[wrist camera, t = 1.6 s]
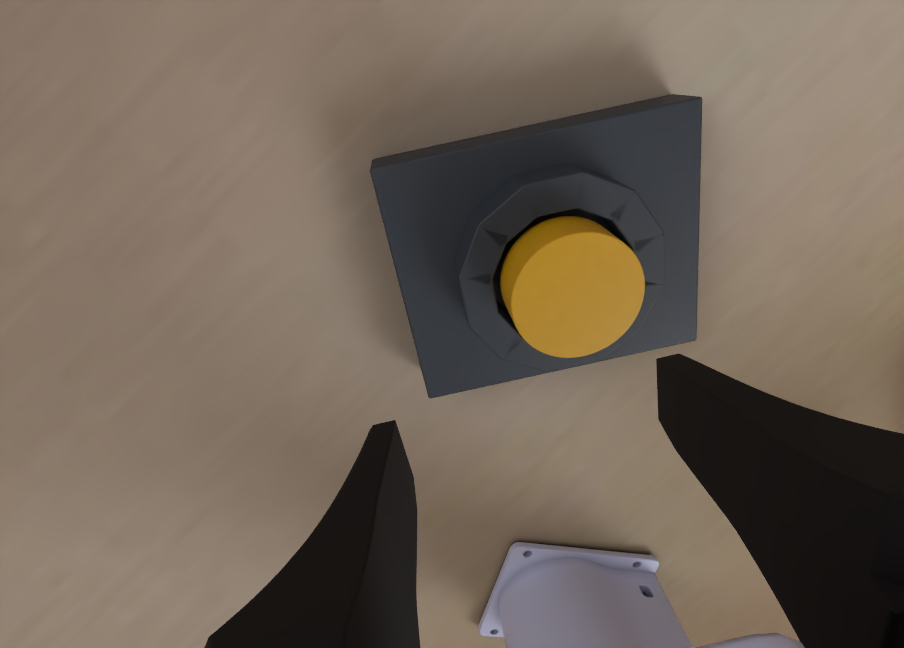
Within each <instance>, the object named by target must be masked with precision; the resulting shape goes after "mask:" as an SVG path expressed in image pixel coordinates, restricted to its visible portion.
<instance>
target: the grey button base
mask: <svg viewBox="0 0 904 648" xmlns="http://www.w3.org/2000/svg"><path fill="white" fill-rule="evenodd" d="M701 127H702V97H696V96H686V95H675V94H671V95H666V96H662V97H657V98H653V99H648V100H643V101H639V102H634V103H630V104H625V105H620V106H616V107H611V108H607V109H602V110H597V111H593V112H588V113H584V114H579V115H574V116H570V117H565V118H561V119H556V120H551V121H547V122H542V123H538V124H533V125H528V126H524V127H519V128H515V129H510V130H505V131H501V132H496V133H492V134H487V135H482V136H478V137H473V138H469V139H464V140H459V141H455V142H450V143H446V144H441V145H436V146H432V147H427V148H423V149H418V150H413V151H409V152H404V153H400V154H395V155H390V156H386V157H381V158H377V159H373V160H372V164H371V169H370V173H371V177H372V181H373V184H374V188H375V192H376V196H377V200H378V204H379V208H380V211H381V215H382V219H383V223H384V227H385V231H386V235H387V238H388V242H389V246H390V250H391V254H392V258H393V262H394V266H395V269H396V273H397V277H398V281H399V285H400V289H401V293H402V296H403V300H404V304H405V308H406V312H407V316H408V320H409V324H410V327H411V331H412V335H413V339H414V343H415V347H416V351H417V354H418V358H419V362H420V366H421V370H422V374H423V378H424V381H425V385H426V389H427V393H428V397H429V398H434V397H439V396H444V395H448V394H453V393H457V392H462V391H466V390H471V389H476V388H480V387H485V386H489V385H494V384H498V383H503V382H508V381H512V380H517V379H521V378H526V377H530V376H535V375H540V374H544V373H549V372H553V371H558V370H562V369H567V368H572V367H576V366H581V365H585V364H590V363H594V362H599V361H604V360H608V359H613V358H617V357H622V356H626V355H631V354H636V353H640V352H645V351H649V350H654V349H658V348H663V347H668V346H672V345H677V344H681V343H686V342H690V341H695V340H696V331H697V290H698V249H699V209H700V168H701ZM561 216H577V217H583V218H587V219H590V220H592V221H594V222H596V223H598V224H600V225H601V226H603V227H604V228H605V229H607V230H608V231H609V232H611V233H612V234H613V235H614V236H616V237H617V238H618V239H620V240H621V241H622V242H624V243H625V244H626V245H627V246H628V247H630V249H631V250H632V251H633V252H634V253H635V255H636V256H637V258H638V259H639V261H640V264H641V266H642V269H643V273H644V279H645V293H644V298H643V302H642V305H641V309H640V311H639V313H638V315H637V317H636V319H635V320H634V322H633V323H632V325H631V326H630V327H629V329H628V330H627V331H626V332H625V333H624V334H623V335H622V336H621V337H620V338H619V339H618V340H616V341H615V342H614V343H612V344H611V345H609V346H608V347H606V348H604V349H602V350H600V351H598V352H595V353H593V354H590V355H586V356H582V357H575V358H562V357H555V356H551V355H548V354H545V353H542V352H540V351H538V350H536V349H535V348H533V347H532V346H530V345H529V344H528V343H527V342H526V341H525V340H524V339H523V338H522V336H521V335H520V334H519V332H518V330H517V329H516V327H515V324H514V322H513V320H512V318H511V316H510V314H509V312H508V309H507V307H506V305H505V303H504V300H503V298H502V293H501V287H500V276H501V270H502V266H503V263H504V260H505V258H506V256H507V254H508V252H509V250H510V249H511V247H512V246H513V244H514V243H515V242H516V241H517V239H518V238H519V237H520V236H521V235H523V234H524V233H525V232H526V231H527V230H529V229H530V228H531V227H533V226H535V225H537V224H538V223H541V222H543V221H545V220H548V219H551V218H555V217H561Z"/></svg>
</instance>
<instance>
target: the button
mask: <svg viewBox="0 0 904 648" xmlns="http://www.w3.org/2000/svg"><path fill="white" fill-rule="evenodd" d="M500 287H501V293H502V298H503V300H504V303H505V305H506V307H507V309H508V312H509V314H510V316H511V318H512V320H513V322H514V324H515V327H516V329H517V330H518V332H519V334H520V335H521V336H522V338H523V339H524V340H525V341H526V342H527V343H528V344H529V345H530V346H532V347H533V348H535V349H536V350H538V351H540V352H542V353H545V354H548V355H551V356H555V357H562V358H575V357H582V356H586V355H590V354H593V353H595V352H598V351H600V350H602V349H604V348H606V347H608V346H609V345H611V344H612V343H614V342H615V341H616V340H618V339H619V338H620V337H621V336H622V335H623V334H624V333H625V332H626V331H627V330H628V329H629V327H630V326H631V325H632V323H633V322H634V320H635V319H636V317H637V315H638V313H639V311H640V309H641V305H642V302H643V298H644V293H645V279H644V273H643V269H642V266H641V264H640V261H639V259H638V258H637V256H636V255H635V253H634V252H633V251H632V250H631V249H630V247H628V246H627V245H626V244H625V243H624V242H622V241H621V240H620V239H618V238H617V237H616V236H614V235H613V234H612V233H611V232H609V231H608V230H607V229H605V228H604V227H603V226H601V225H600V224H598V223H596V222H594V221H592V220H590V219H587V218H583V217H577V216H561V217H555V218H551V219H548V220H545V221H543V222H541V223H538V224H537V225H535V226H533V227H531V228H530V229H529V230H527V231H526V232H525V233H524V234H523V235H521V236H520V237H519V238H518V239H517V241H516V242H515V243H514V244H513V246H512V247H511V249H510V250H509V252H508V254H507V256H506V258H505V260H504V263H503V266H502V270H501V276H500Z"/></svg>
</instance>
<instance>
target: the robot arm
mask: <svg viewBox="0 0 904 648" xmlns="http://www.w3.org/2000/svg"><path fill="white" fill-rule="evenodd" d="M656 361H657V389H658V418H659V421H660V423H661V425H662V426H663V428H664V430H665V432H666V434H667V436H668V437H669V439H670V441H671V442H672V444H673V446H674V448H675V449H676V451H677V452H678V454H679V455H680V456H681V458H682V459H683V460H684V462H685V463H686V464H687V466H688V467H689V468H690V470H691V471H692V472H693V474H694V475H695V476H696V478H697V479H698V480H699V482H700V483H701V484H702V485H703V487H704V488H705V489H706V491H707V492H708V493H709V495H710V496H711V497H712V499H713V500H714V501H715V502H716V504H717V505H718V506H719V508H720V509H721V510H722V512H723V513H724V514H725V516H726V517H727V518H728V520H729V521H730V523H731V524H732V525H733V527H734V528H735V530H736V531H737V533H738V534H739V536H740V538H741V539H742V541H743V542H744V544H745V546H746V547H747V549H748V551H749V552H750V554H751V556H752V557H753V559H754V560H755V562H756V564H757V565H758V567H759V569H760V570H761V572H762V574H763V576H764V577H765V579H766V581H767V582H768V584H769V586H770V588H771V589H772V591H773V593H774V595H775V596H776V598H777V600H778V601H779V603H780V605H781V607H782V609H783V610H784V612H785V614H786V616H787V618H788V620H789V621H790V623H791V625H792V627H793V629H794V630H795V632H796V634H797V636H798V638H799V640H800V641H801V642H799V641H796V640H794V639H792V638H789V637H787V636H784V635H782V634H778V633H768V634H753V635H748V636H744V637H739V638H735V639H731V640H726V641H722V642H718V643H714V644H709V645H705V646H701V647H696V648H904V434H902V433H897V432H893V431H888V430H883V429H879V428H875V427H871V426H867V425H863V424H859V423H855V422H851V421H847V420H844V419H840V418H837V417H833V416H830V415H827V414H824V413H821V412H818V411H814V410H811V409H808V408H805V407H802V406H799V405H796V404H794V403H791V402H788V401H786V400H783V399H781V398H778V397H775V396H773V395H770V394H768V393H765V392H763V391H761V390H758V389H756V388H753V387H751V386H749V385H746V384H744V383H742V382H740V381H738V380H735V379H733V378H731V377H729V376H727V375H724V374H722V373H720V372H718V371H716V370H714V369H712V368H710V367H707V366H705V365H703V364H701V363H699V362H697V361H695V360H692V359H690V358H688V357H686V356H683V355H681V354H675V355H671V356H667V357H662V358H658V359H656ZM658 566H659V561H658V560H657V558H656V557H655V556H653V555H643V554H634V553H624V552H614V551H604V550H594V549H584V548H574V547H564V546H554V545H544V544H535V543H525V542H516V543H514V544H513V545H511V547H510V549H509V551H508V554H507V556H506V559H505V561H504V564H503V566H502V569H501V571H500V574H499V576H498V579H497V581H496V583H495V586H494V588H493V591H492V593H491V596H490V598H489V601H488V603H487V606H486V608H485V611H484V613H483V616H482V618H481V620H480V623H479V625H478V630H479V633H480V634H481V635H482V636H491V637H504V639H505V644H506V648H693V647H692V645H691V643H690V641H689V639H688V637H687V635H686V633H685V631H684V630H683V628H682V626H681V624H680V622H679V620H678V618H677V616H676V614H675V612H674V610H673V608H672V606H671V604H670V602H669V600H668V598H667V596H666V595H665V593H664V591H663V589H662V587H661V585H660V583H659V581H658V579H657V577H656V575H655V571H656V570H657V568H658ZM416 567H417V504H416V494H415V486H414V477H413V474H412V470H411V467H410V464H409V461H408V458H407V455H406V452H405V449H404V446H403V443H402V440H401V437H400V434H399V431H398V427H397V424H396V421H395V420H393V421H389V422H384V423H380V424H376V425H373V426H372V428H371V429H370V431H369V433H368V436H367V438H366V440H365V442H364V444H363V447H362V449H361V451H360V453H359V455H358V457H357V459H356V461H355V463H354V465H353V467H352V469H351V471H350V473H349V475H348V476H347V478H346V480H345V482H344V484H343V486H342V487H341V489H340V491H339V492H338V494H337V496H336V497H335V499H334V501H333V502H332V504H331V506H330V507H329V509H328V511H327V512H326V514H325V515H324V517H323V518H322V520H321V521H320V522H319V524H318V525H317V527H316V528H315V529H314V531H313V532H312V534H311V535H310V536H309V538H308V539H307V540H306V542H305V543H304V544H303V545H302V546H301V547H300V549H299V550H298V551H297V552H296V553H295V555H294V556H293V557H292V558H291V559H290V560H289V562H288V563H287V564H286V565H285V566H284V567H283V569H282V570H281V571H280V572H279V573H278V574H277V575H276V576H275V577H274V578H273V579H272V580H271V581H270V582H269V583H268V584H267V585H266V586H265V587H264V588H263V589H262V590H261V591H260V592H259V593H258V594H257V595H256V596H255V597H254V598H253V599H252V600H251V601H250V602H249V603H248V604H247V605H246V606H244V607H243V608H242V609H241V610H240V611H239V612H238V613H236V614H235V615H234V616H233V617H232V618H231V619H230V620H228V621H227V622H226V623H225V624H224V625H223V626H221V627H220V628H219V629H218V630H217V631H216V632H214V633H213V634H212V635H211V636H210V637H209V638H208V641H207V643H206V646H205V648H420V640H419V628H418V616H417V600H416Z"/></svg>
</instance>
